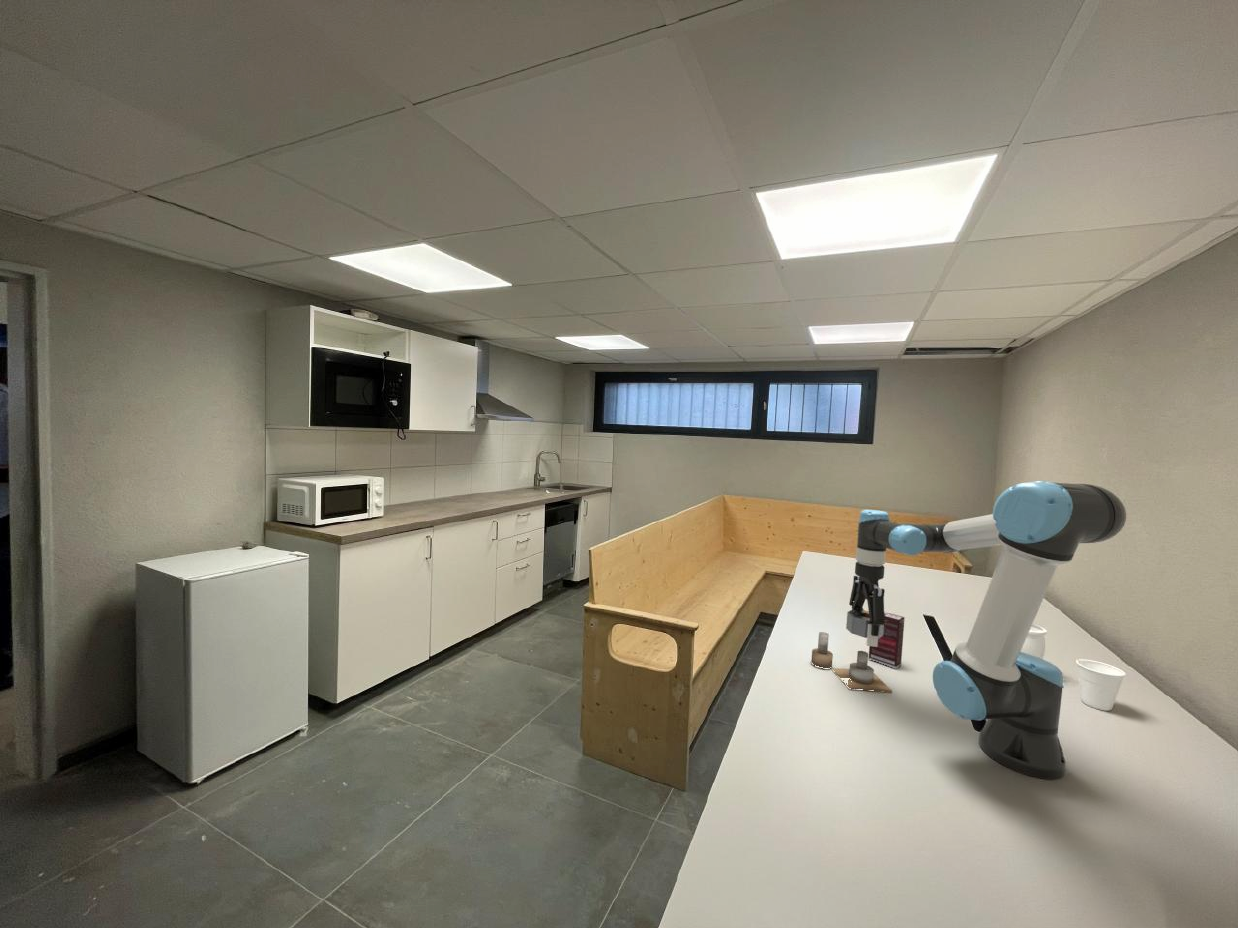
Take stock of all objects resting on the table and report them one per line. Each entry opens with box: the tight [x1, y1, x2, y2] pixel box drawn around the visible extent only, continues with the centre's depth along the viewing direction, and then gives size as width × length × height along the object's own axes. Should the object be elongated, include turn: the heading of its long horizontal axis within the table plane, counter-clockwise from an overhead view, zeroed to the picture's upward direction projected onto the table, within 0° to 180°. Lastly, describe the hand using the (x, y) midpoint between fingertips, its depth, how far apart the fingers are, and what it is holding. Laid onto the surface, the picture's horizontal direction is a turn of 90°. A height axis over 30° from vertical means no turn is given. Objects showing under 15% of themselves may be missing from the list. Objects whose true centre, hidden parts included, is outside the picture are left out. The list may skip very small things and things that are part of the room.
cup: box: [1075, 658, 1127, 712], centre depth 135 cm, size 10×10×11 cm
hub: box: [831, 650, 893, 693], centre depth 142 cm, size 12×12×8 cm
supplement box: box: [868, 611, 905, 670], centre depth 156 cm, size 9×5×16 cm, turn 43°
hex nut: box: [845, 609, 884, 639], centre depth 142 cm, size 9×9×5 cm
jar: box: [1021, 624, 1048, 660], centre depth 154 cm, size 11×10×15 cm
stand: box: [810, 631, 834, 668], centre depth 151 cm, size 6×6×10 cm
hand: (863, 638), depth 142 cm, fingers closed on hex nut, 9 cm apart
